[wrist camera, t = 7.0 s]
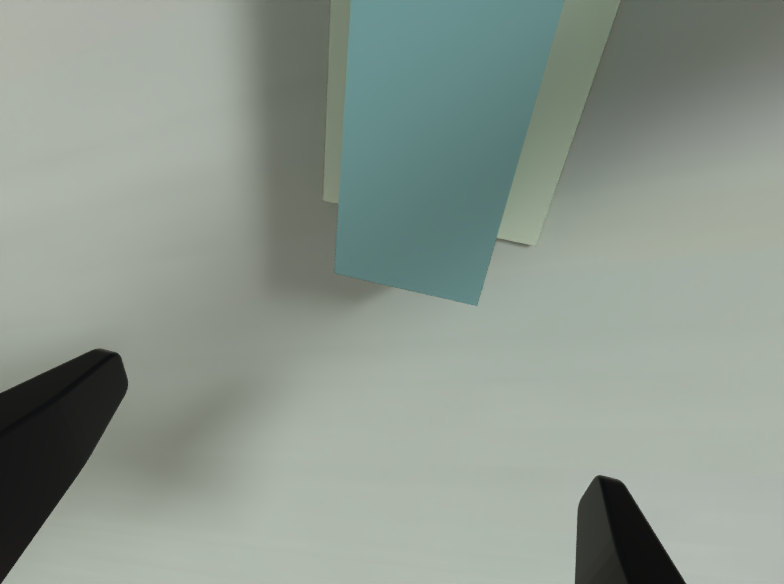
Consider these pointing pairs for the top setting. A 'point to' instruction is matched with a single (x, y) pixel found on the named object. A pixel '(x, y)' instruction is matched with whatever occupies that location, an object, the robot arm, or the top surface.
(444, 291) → the bar
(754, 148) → the top surface
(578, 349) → the top surface
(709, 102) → the top surface
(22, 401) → the robot arm
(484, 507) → the top surface
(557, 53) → the pad
